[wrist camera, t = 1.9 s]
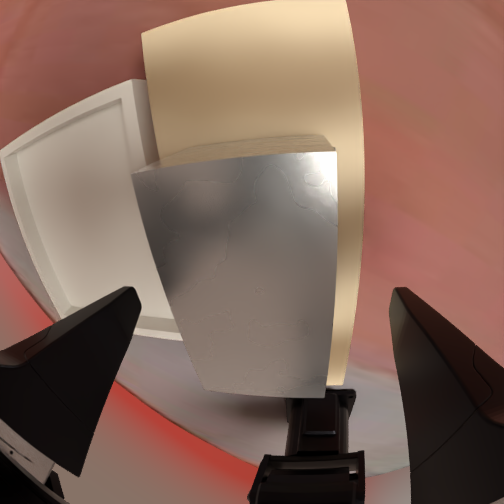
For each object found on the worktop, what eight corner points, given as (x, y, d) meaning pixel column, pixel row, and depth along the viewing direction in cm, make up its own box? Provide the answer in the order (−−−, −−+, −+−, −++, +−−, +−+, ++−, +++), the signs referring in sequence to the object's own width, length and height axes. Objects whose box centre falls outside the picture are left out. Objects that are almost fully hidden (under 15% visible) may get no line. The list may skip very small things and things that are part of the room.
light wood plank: (340, 340, 19) (342, 388, 15) (234, 339, 21) (220, 383, 17) (334, 26, 10) (346, -4, 6) (180, 47, 11) (137, 32, 8)
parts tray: (205, 323, 20) (197, 342, 19) (73, 308, 24) (62, 320, 22) (151, 80, 12) (131, 79, 11) (15, 145, 16) (-2, 151, 14)
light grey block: (324, 329, 13) (324, 398, 10) (226, 327, 14) (204, 389, 11) (323, 134, 9) (335, 151, 5) (188, 147, 10) (130, 173, 6)
